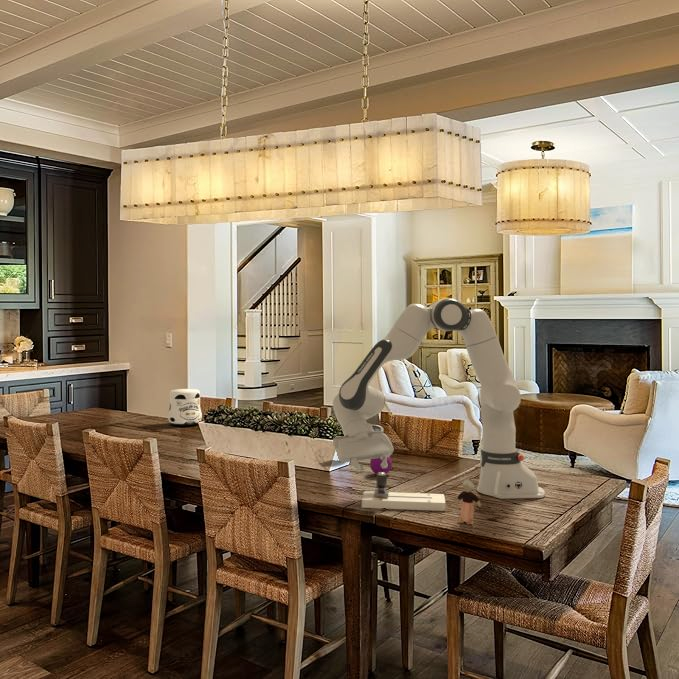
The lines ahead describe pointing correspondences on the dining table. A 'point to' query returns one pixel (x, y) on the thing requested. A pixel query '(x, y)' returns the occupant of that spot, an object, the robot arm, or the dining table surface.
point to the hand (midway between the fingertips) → (373, 469)
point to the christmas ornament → (376, 465)
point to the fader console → (405, 501)
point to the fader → (381, 485)
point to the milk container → (184, 407)
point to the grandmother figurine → (467, 502)
